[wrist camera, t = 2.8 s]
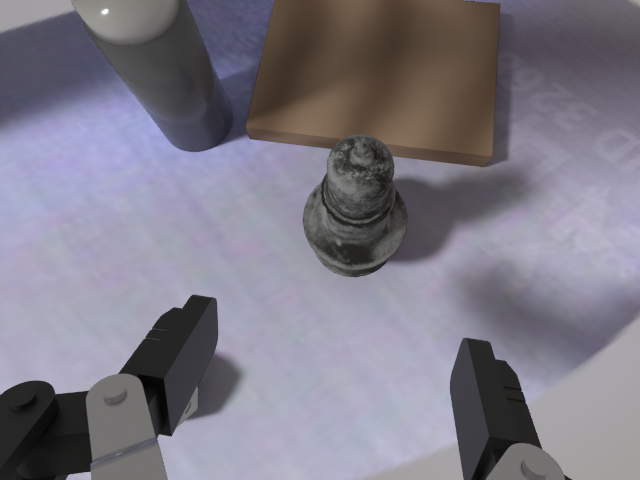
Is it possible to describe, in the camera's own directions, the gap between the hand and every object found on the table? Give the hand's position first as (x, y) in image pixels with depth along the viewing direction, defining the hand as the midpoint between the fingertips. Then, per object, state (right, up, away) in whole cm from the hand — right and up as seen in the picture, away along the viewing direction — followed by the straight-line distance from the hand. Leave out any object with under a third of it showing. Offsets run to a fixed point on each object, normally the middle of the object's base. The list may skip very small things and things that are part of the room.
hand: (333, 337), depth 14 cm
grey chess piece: (+2, +3, +14) cm, 14 cm away
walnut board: (+4, +15, +17) cm, 23 cm away
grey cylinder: (-9, +12, +17) cm, 22 cm away
